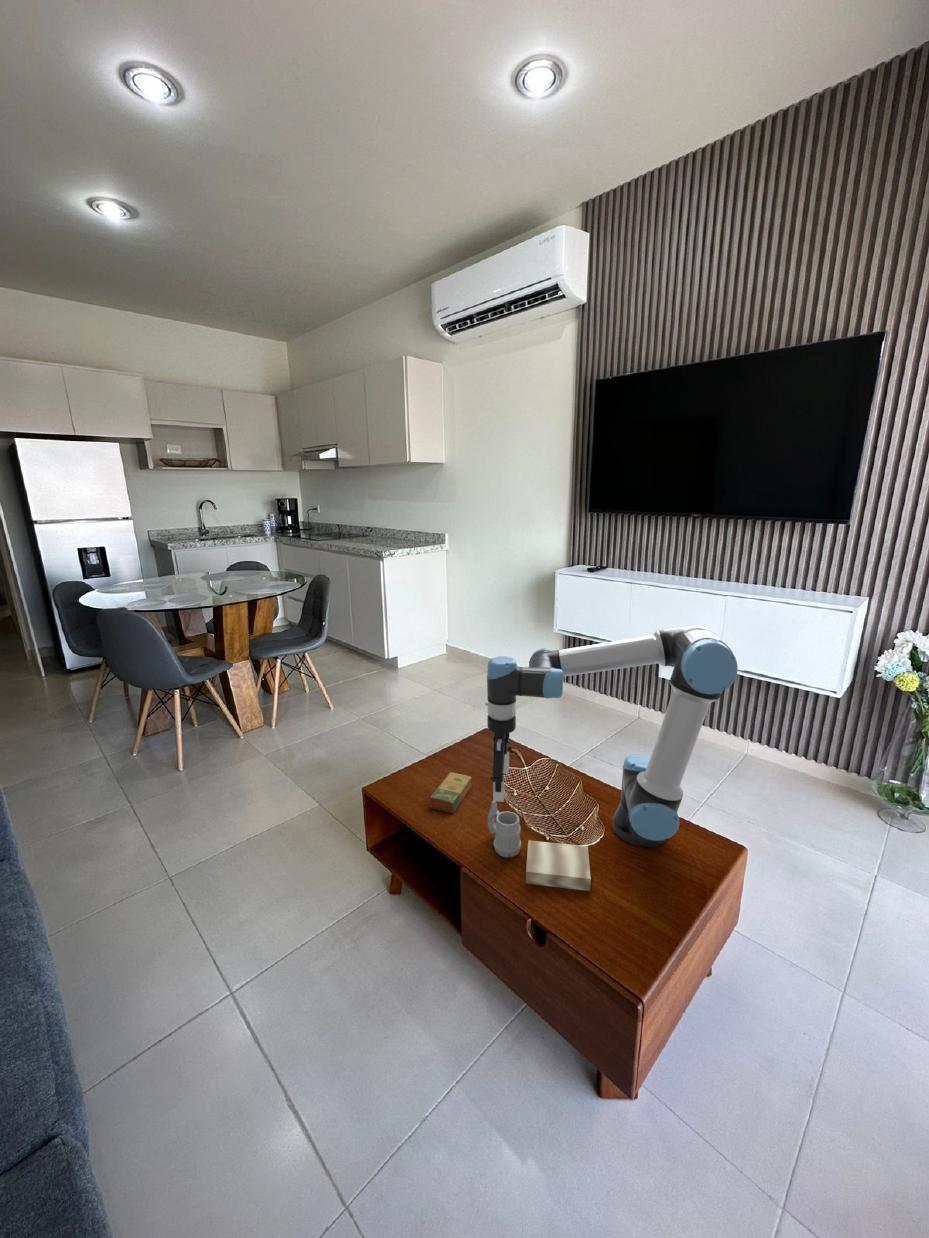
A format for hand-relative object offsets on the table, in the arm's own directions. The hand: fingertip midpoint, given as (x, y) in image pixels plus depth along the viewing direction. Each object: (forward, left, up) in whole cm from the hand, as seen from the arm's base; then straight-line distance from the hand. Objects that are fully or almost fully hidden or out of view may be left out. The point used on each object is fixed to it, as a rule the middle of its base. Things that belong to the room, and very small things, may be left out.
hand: (501, 786), depth 140 cm
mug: (0, 0, -19) cm, 19 cm away
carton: (+19, -20, -19) cm, 33 cm away
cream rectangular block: (-16, +7, -19) cm, 26 cm away
